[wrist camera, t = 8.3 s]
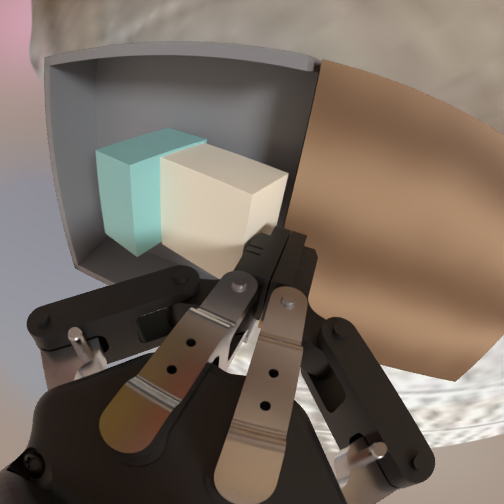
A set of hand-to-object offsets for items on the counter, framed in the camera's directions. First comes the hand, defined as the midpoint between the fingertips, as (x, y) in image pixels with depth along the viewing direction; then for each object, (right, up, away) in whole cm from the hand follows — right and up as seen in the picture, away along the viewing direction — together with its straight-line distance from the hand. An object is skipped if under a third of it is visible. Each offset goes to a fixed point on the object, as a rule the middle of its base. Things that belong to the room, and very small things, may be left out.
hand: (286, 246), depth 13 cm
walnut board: (+8, 0, +2) cm, 9 cm away
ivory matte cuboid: (-2, +2, +2) cm, 4 cm away
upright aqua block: (-6, +3, +1) cm, 6 cm away
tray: (-6, +5, +4) cm, 9 cm away
